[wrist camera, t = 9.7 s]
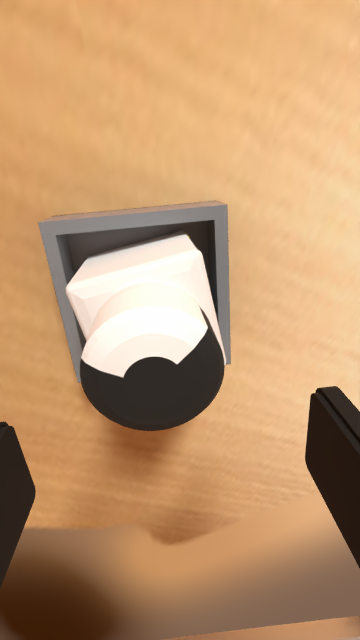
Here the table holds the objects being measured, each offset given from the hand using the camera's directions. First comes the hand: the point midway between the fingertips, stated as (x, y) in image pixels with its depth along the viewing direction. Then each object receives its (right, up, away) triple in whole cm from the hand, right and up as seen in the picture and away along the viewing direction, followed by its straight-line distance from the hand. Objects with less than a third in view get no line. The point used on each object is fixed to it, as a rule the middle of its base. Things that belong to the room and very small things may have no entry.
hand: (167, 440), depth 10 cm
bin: (-2, +6, +14) cm, 16 cm away
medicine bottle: (-2, +6, +14) cm, 15 cm away
